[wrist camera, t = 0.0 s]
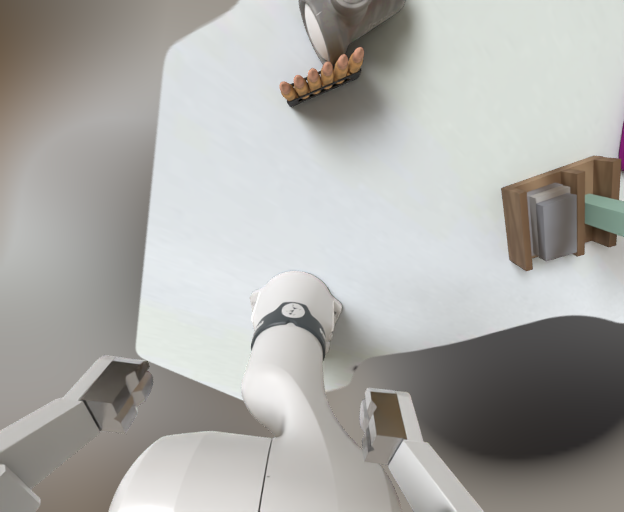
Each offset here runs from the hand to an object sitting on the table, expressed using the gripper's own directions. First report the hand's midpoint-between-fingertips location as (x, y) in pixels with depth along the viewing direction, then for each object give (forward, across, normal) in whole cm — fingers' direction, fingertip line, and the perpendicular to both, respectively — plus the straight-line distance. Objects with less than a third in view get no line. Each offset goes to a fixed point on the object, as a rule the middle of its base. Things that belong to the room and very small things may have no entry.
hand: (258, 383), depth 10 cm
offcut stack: (+37, +39, -4) cm, 54 cm away
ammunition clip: (+40, 0, +11) cm, 42 cm away
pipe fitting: (+41, +3, +19) cm, 45 cm away
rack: (+39, +40, -3) cm, 56 cm away
